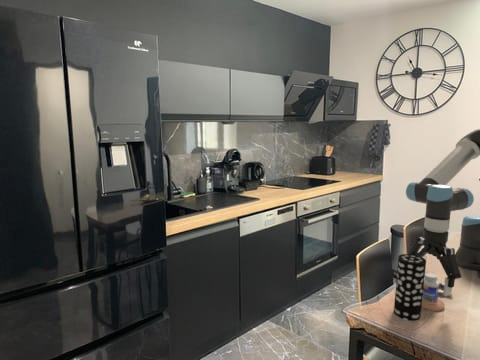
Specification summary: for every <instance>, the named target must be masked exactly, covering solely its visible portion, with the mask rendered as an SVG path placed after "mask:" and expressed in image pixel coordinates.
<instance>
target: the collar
mask: <svg viewBox="0 0 480 360" xmlns="http://www.w3.org/2000/svg"><path fill="white" fill-rule="evenodd" d="M437 282H438V283H439V288H440V289H443V290H440V289H439V291H438V297H445V296H444V295H443V293H444V284H445V282H440V281H437ZM447 297H448V298H449V299H450V298H453V292H451V295H449V296H447Z"/></svg>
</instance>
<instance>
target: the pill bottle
mask: <svg viewBox="0 0 480 360" xmlns="http://www.w3.org/2000/svg"><path fill="white" fill-rule="evenodd" d="M438 282H439V281H438V275H436V274H433V273H425V278H424V289H423V299H422V301H423V302H425V303H427V304H436V303H437V301H438V299H439V295H438V291H439V290H440V289H439V288H440V287H439V283H438Z"/></svg>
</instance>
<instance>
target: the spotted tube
mask: <svg viewBox="0 0 480 360" xmlns="http://www.w3.org/2000/svg"><path fill="white" fill-rule="evenodd" d="M426 265H427V260H426V259H425V258H424V257H420V256H416V255H411V254H409V253H402V254H399V255H398V258H397V269H396V281H395V291H394V306H393V313H394V315H395V316H396V317H398V318H399V319H401V320H404V321H409V322H417V321H419V320H421V318H422V309H423V308H422V299H423V289H424V279H425V274H426V269H427V268H426V267H427V266H426Z"/></svg>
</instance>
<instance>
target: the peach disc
mask: <svg viewBox="0 0 480 360" xmlns="http://www.w3.org/2000/svg"><path fill="white" fill-rule="evenodd" d="M445 306H446V305H445V302H444V301H443V300H441V299H440V298H438V301H437V303H436V304H427V303H425V302H423V301H422V309H423V310H425V311H430V312H441V311H443V310H445V308H446V307H445Z"/></svg>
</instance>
